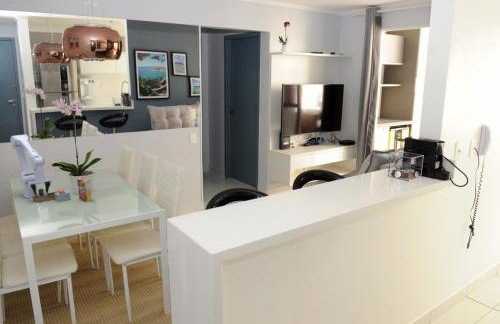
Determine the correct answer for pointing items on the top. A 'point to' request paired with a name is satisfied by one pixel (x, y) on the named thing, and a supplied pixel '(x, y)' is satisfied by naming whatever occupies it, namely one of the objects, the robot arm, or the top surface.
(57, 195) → the button housing
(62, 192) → the button
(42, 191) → the carriage
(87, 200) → the candy box
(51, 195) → the rail
